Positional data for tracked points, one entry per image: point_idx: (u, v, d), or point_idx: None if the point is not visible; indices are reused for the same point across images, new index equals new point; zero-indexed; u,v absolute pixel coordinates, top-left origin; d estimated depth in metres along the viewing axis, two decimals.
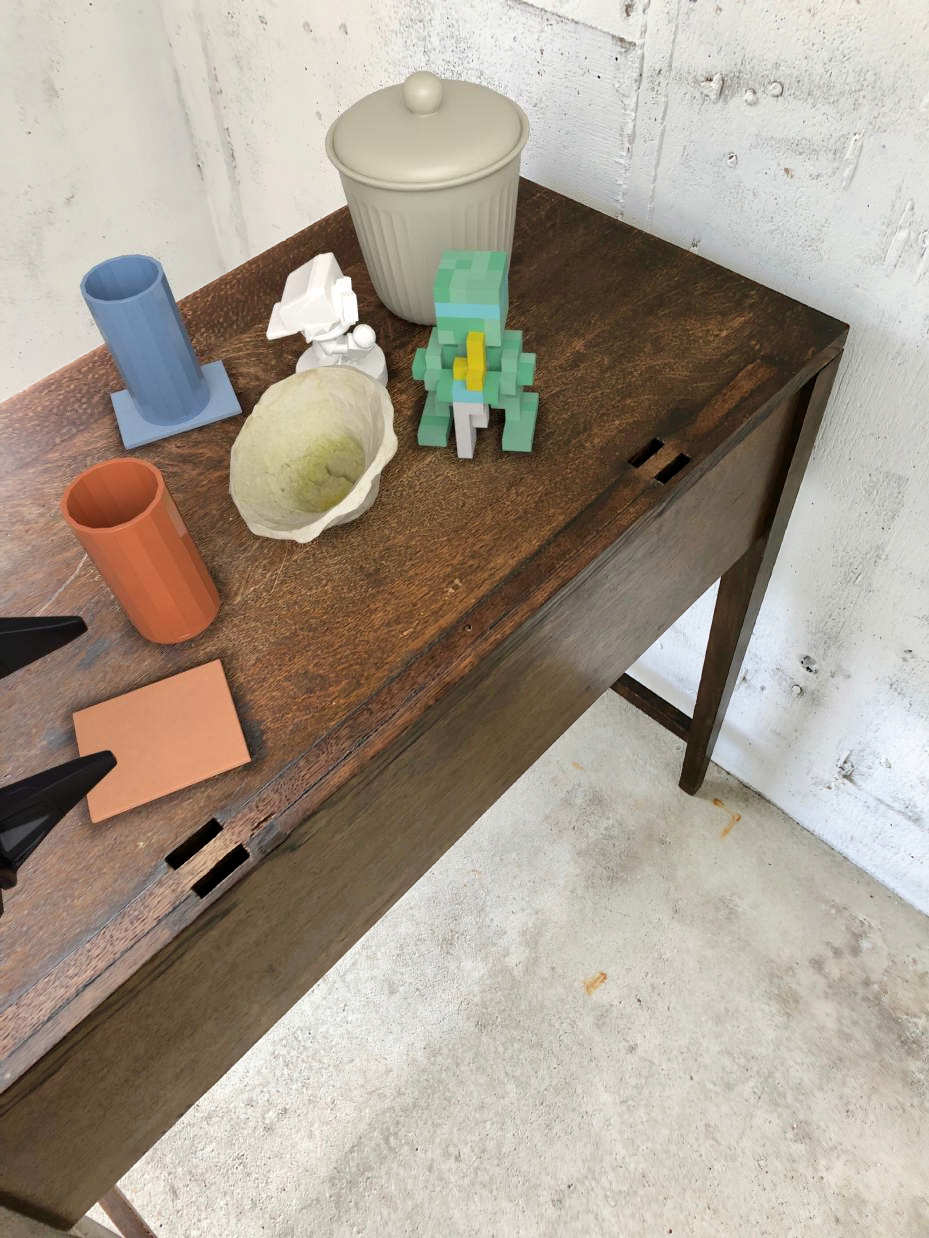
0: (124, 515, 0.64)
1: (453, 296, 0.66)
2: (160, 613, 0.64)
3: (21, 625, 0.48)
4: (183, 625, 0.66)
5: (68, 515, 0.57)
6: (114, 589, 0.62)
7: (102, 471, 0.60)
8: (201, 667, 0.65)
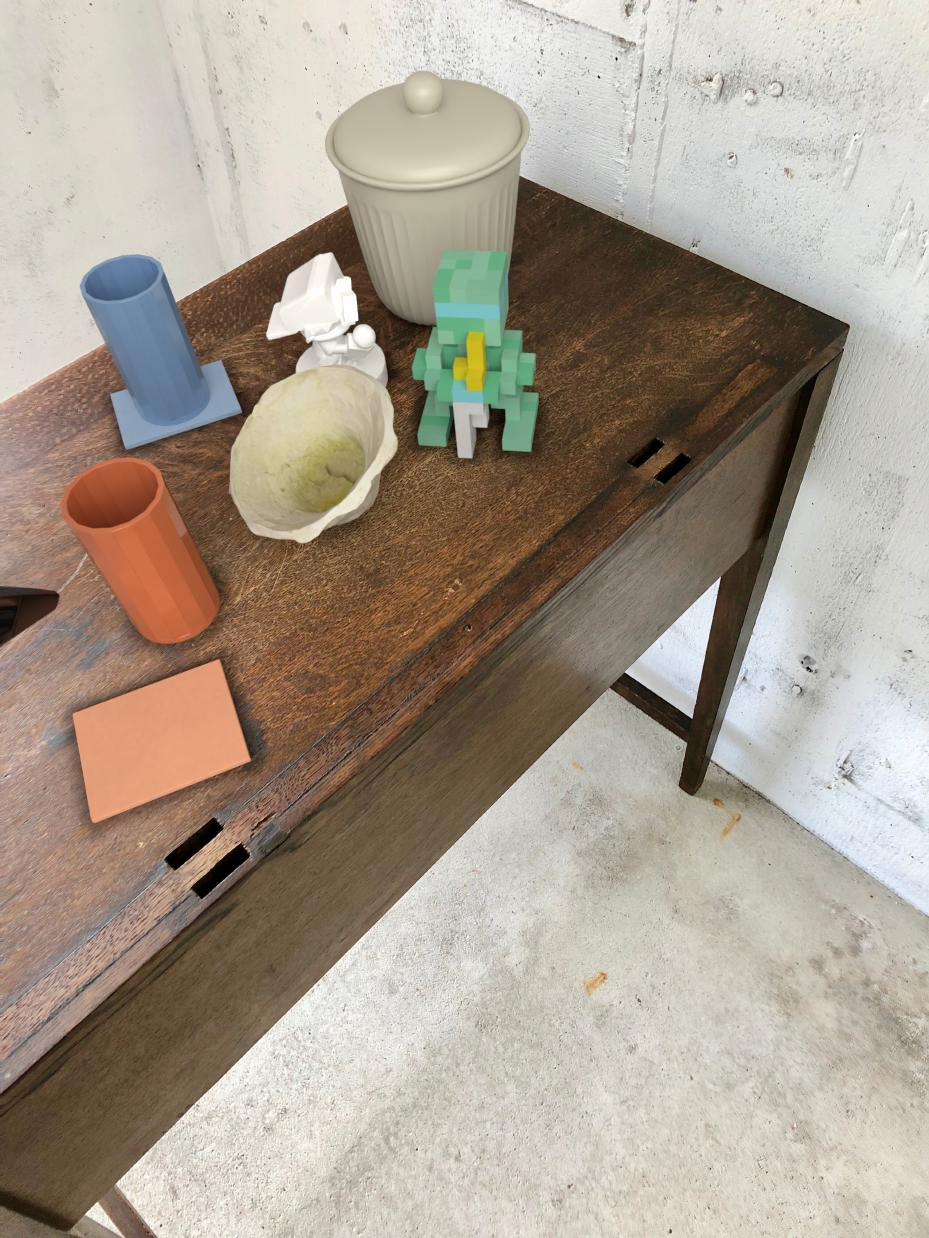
0: (124, 515, 0.64)
1: (453, 296, 0.66)
2: (160, 613, 0.64)
3: None
4: (183, 625, 0.66)
5: (68, 515, 0.57)
6: (114, 589, 0.62)
7: (102, 471, 0.60)
8: (201, 667, 0.65)
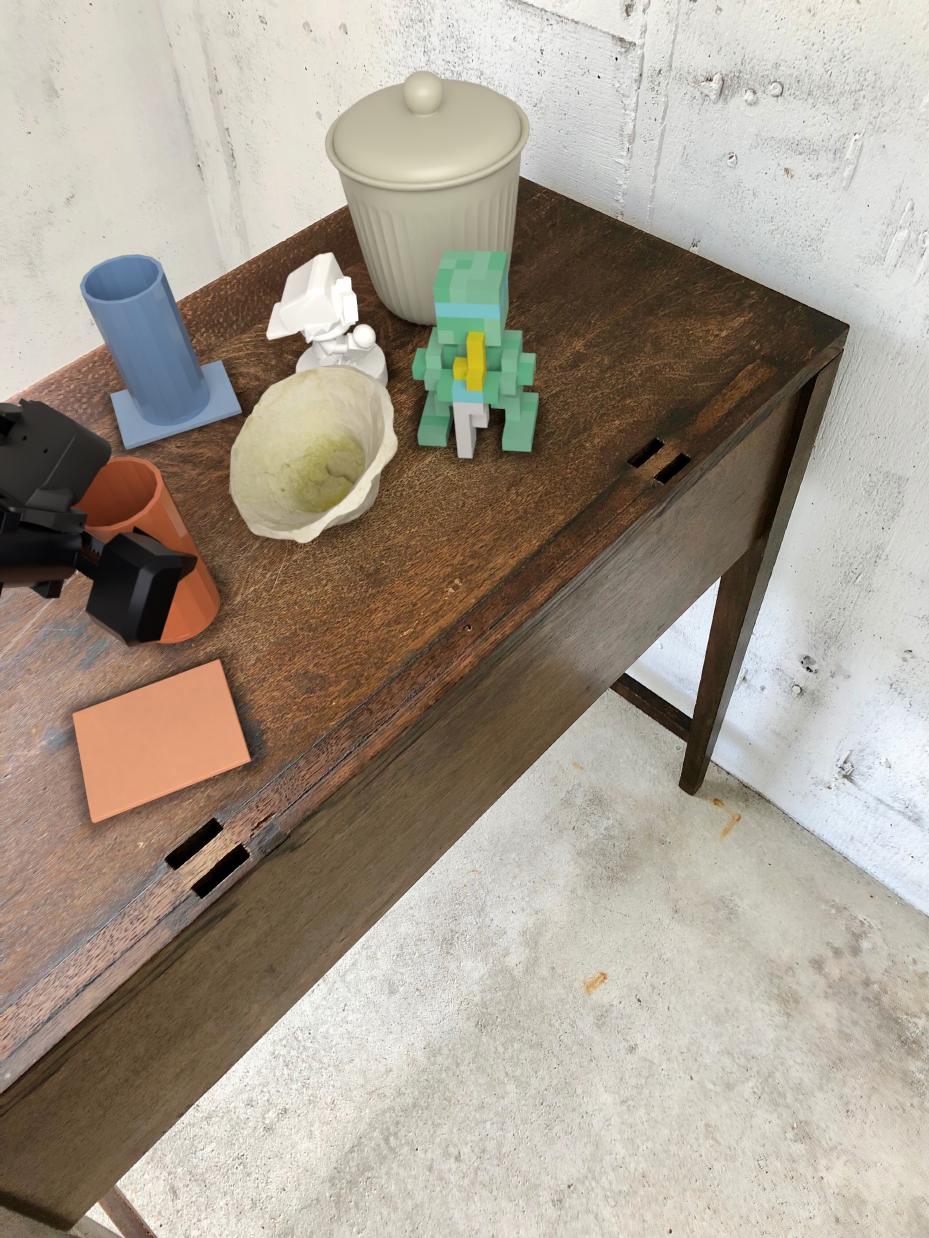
0: (124, 514, 0.64)
1: (453, 296, 0.66)
2: None
3: None
4: (183, 625, 0.66)
5: None
6: None
7: (102, 470, 0.60)
8: (201, 667, 0.65)
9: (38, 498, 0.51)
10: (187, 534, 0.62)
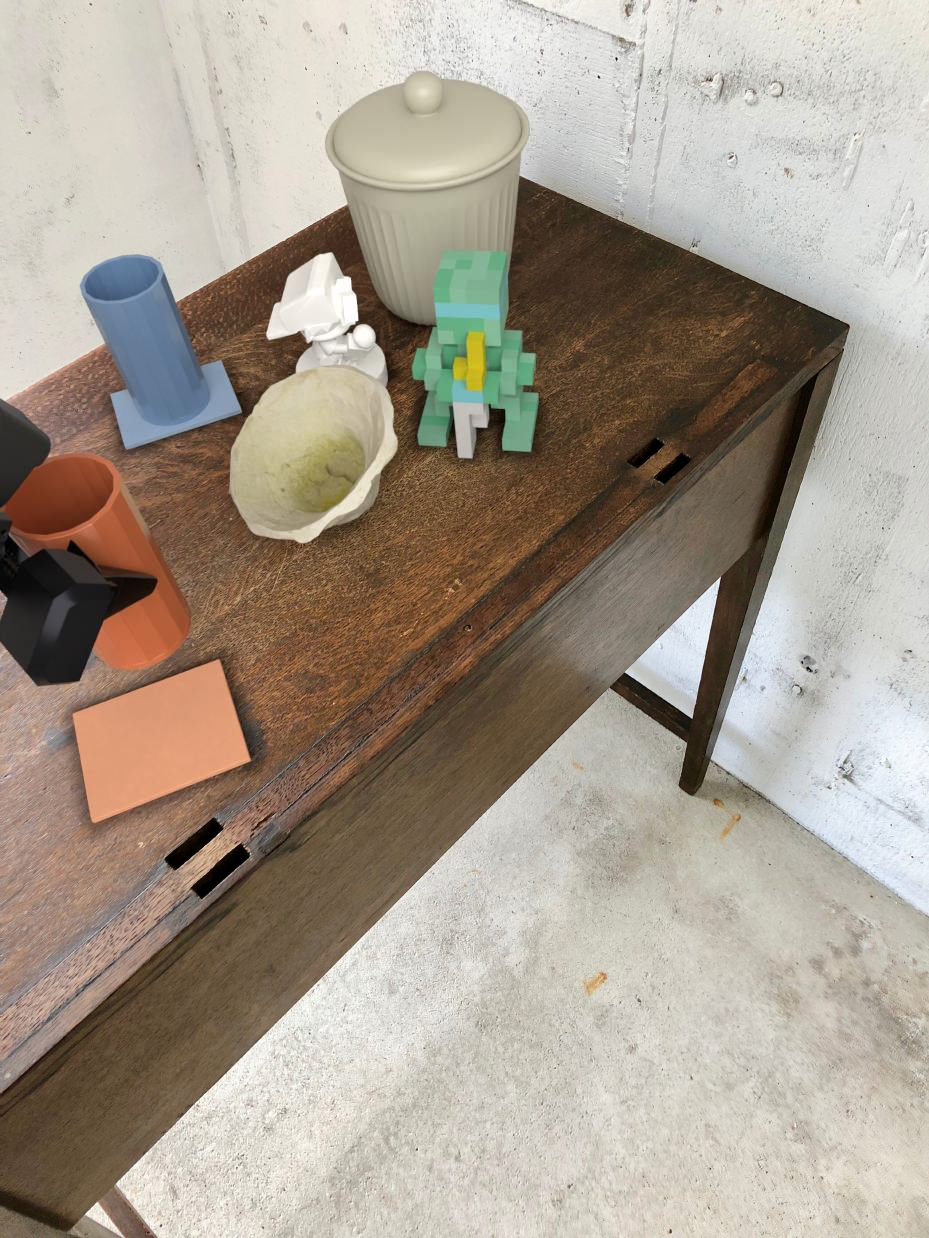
0: (86, 517, 0.55)
1: (453, 296, 0.66)
2: (110, 636, 0.55)
3: None
4: (138, 652, 0.56)
5: None
6: None
7: (58, 465, 0.51)
8: (201, 667, 0.65)
9: None
10: (150, 550, 0.53)
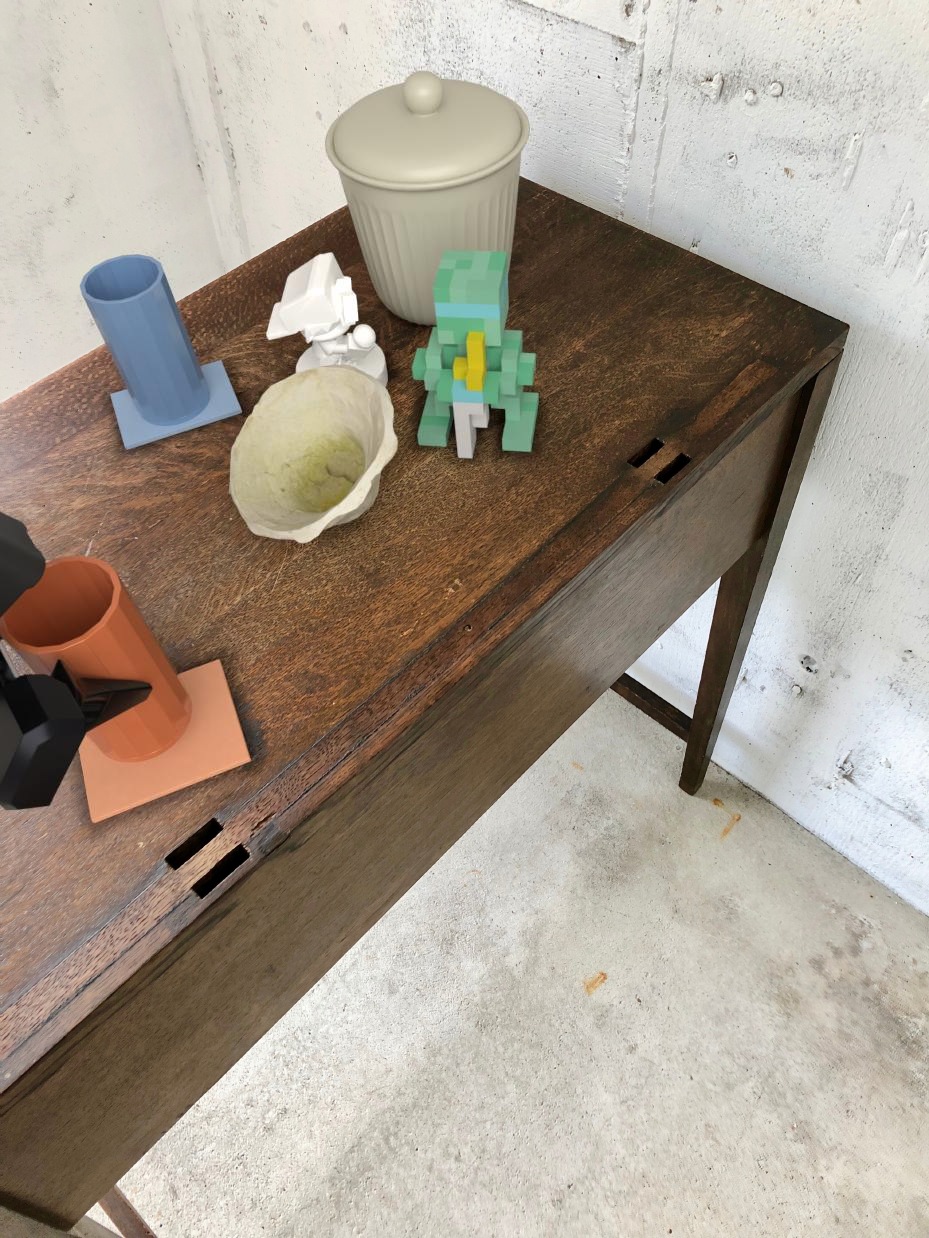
0: (93, 612, 0.55)
1: (453, 296, 0.66)
2: (103, 734, 0.54)
3: None
4: (131, 749, 0.56)
5: (2, 617, 0.49)
6: None
7: (65, 566, 0.51)
8: (201, 667, 0.65)
9: None
10: (148, 657, 0.52)
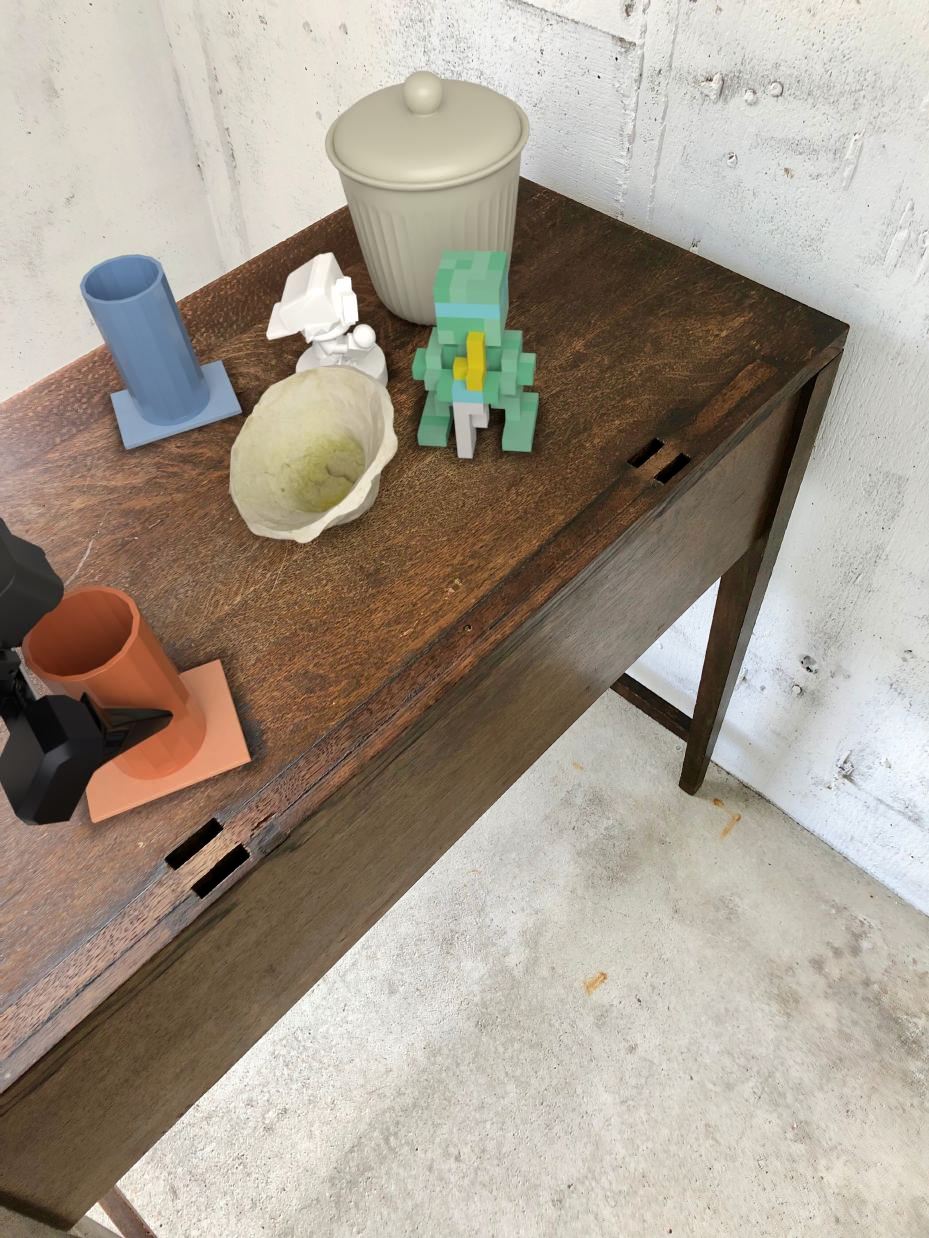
0: (111, 637, 0.57)
1: (453, 296, 0.66)
2: (122, 754, 0.57)
3: None
4: (149, 767, 0.58)
5: (27, 647, 0.51)
6: None
7: (85, 596, 0.53)
8: (201, 667, 0.65)
9: None
10: (165, 681, 0.55)
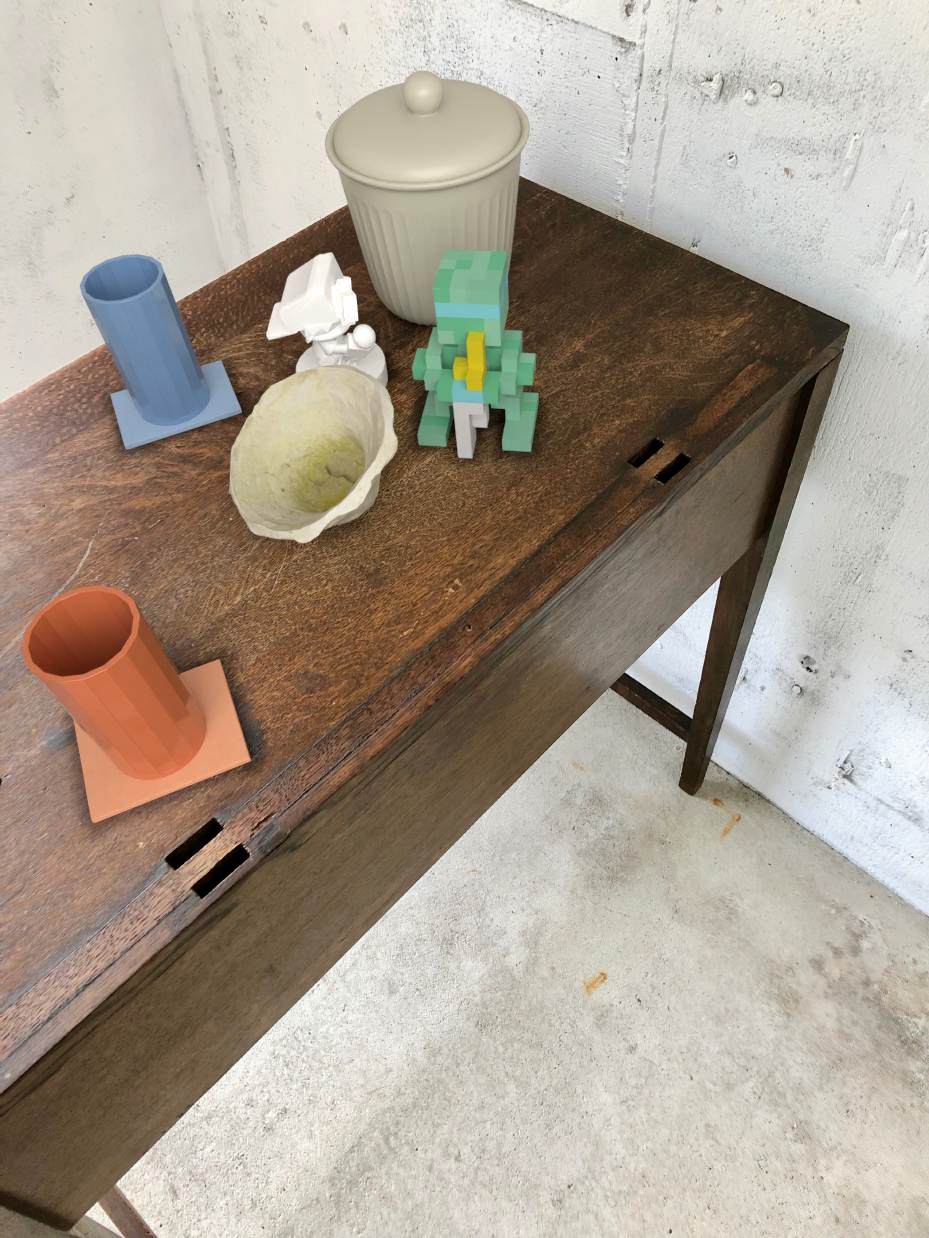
0: (111, 637, 0.57)
1: (453, 296, 0.66)
2: (122, 754, 0.57)
3: None
4: (149, 767, 0.58)
5: (27, 647, 0.51)
6: (75, 721, 0.55)
7: (85, 596, 0.53)
8: (201, 667, 0.65)
9: None
10: (165, 681, 0.55)
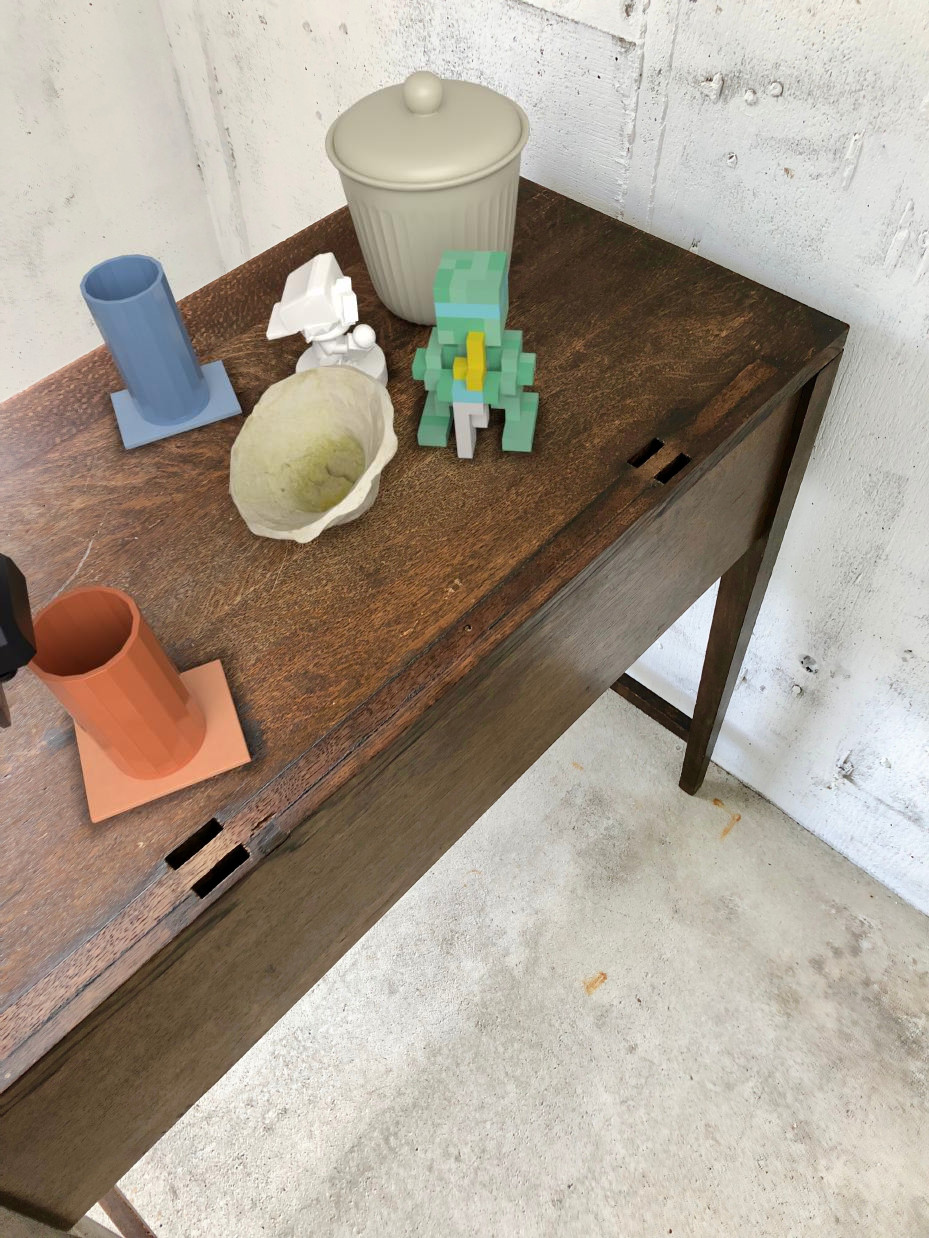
0: (111, 637, 0.57)
1: (453, 296, 0.66)
2: (122, 754, 0.57)
3: None
4: (149, 767, 0.58)
5: None
6: (75, 721, 0.55)
7: (85, 596, 0.53)
8: (201, 667, 0.65)
9: None
10: (165, 681, 0.55)
